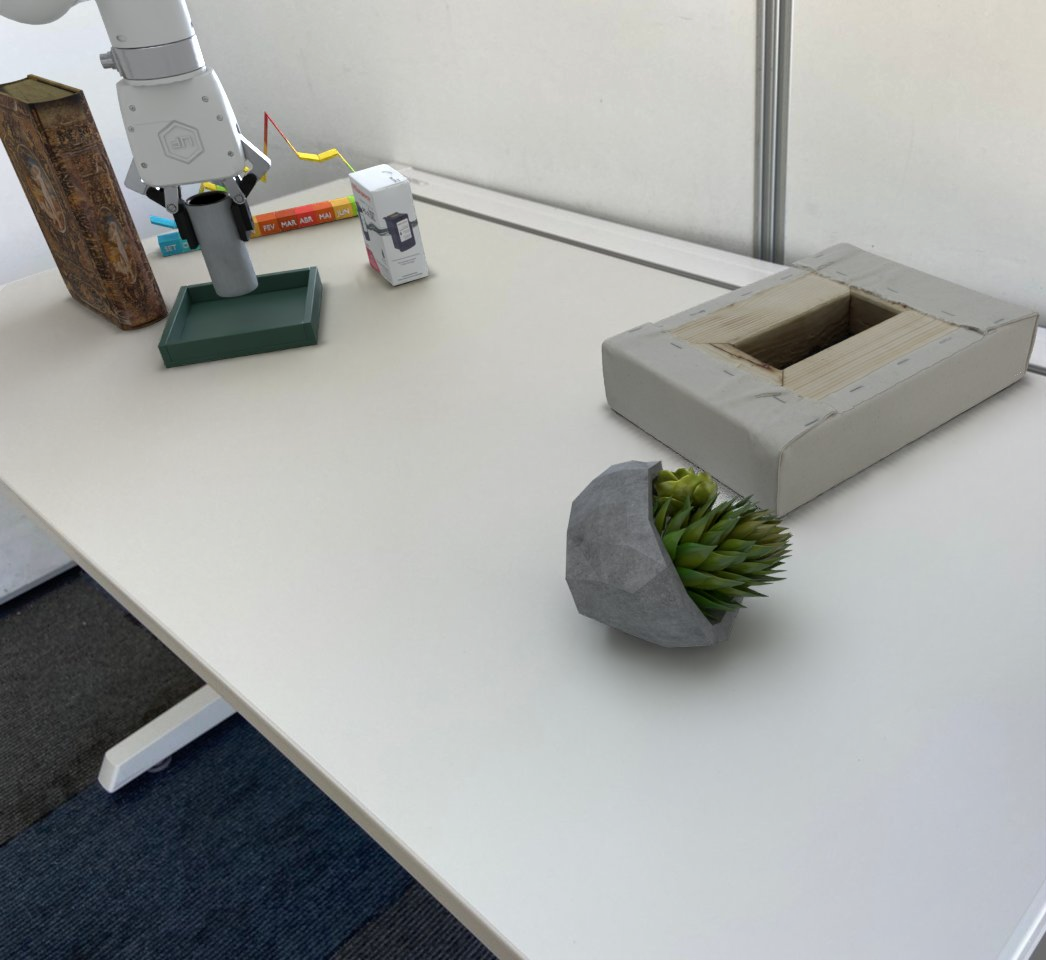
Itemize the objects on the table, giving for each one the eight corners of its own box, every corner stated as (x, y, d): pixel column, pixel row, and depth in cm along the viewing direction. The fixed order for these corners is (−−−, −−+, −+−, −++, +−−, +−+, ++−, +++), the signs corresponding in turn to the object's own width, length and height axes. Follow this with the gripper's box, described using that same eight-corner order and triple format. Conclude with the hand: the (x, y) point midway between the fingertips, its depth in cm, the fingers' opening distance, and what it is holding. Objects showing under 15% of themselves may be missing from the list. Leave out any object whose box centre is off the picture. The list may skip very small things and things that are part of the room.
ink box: (368, 265, 122) (345, 171, 115) (405, 254, 124) (385, 161, 117) (392, 287, 116) (369, 190, 109) (431, 276, 118) (411, 179, 111)
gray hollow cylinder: (242, 277, 110) (212, 187, 104) (267, 285, 108) (238, 194, 102) (207, 292, 107) (175, 201, 101) (232, 301, 105) (200, 208, 99)
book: (173, 315, 114) (88, 91, 99) (127, 333, 110) (32, 105, 96) (114, 281, 123) (28, 72, 108) (70, 297, 120) (-25, 84, 105)
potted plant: (612, 492, 74) (806, 460, 69) (621, 663, 71) (826, 644, 65) (535, 454, 63) (759, 413, 58) (542, 654, 60) (779, 630, 54)
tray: (166, 368, 103) (157, 346, 101) (188, 306, 115) (180, 286, 114) (316, 344, 105) (310, 322, 104) (322, 286, 118) (316, 265, 116)
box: (781, 528, 75) (1031, 377, 90) (781, 444, 70) (1044, 299, 85) (602, 415, 90) (841, 302, 105) (593, 340, 86) (843, 233, 101)
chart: (163, 257, 129) (120, 142, 120) (162, 249, 131) (120, 135, 122) (390, 209, 138) (365, 98, 129) (385, 202, 140) (360, 93, 132)
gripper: (57, 80, 90) (132, 266, 100) (247, 57, 92) (300, 242, 103) (77, 62, 96) (145, 240, 106) (255, 41, 98) (304, 217, 109)
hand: (220, 239), depth 104 cm, fingers closed on gray hollow cylinder, 4 cm apart
